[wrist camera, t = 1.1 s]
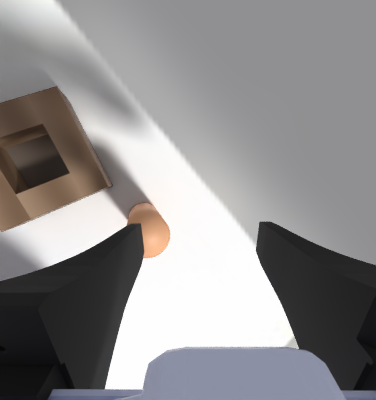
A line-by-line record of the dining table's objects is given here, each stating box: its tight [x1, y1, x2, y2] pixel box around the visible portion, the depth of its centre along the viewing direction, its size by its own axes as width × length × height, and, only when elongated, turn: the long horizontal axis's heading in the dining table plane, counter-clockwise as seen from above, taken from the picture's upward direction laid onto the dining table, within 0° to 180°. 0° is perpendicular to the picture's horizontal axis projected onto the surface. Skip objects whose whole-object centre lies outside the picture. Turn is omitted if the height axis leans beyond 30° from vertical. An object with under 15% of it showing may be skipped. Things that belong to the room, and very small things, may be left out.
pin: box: [127, 203, 170, 258], centre depth 17 cm, size 3×3×8 cm
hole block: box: [0, 86, 112, 232], centre depth 17 cm, size 9×9×3 cm
